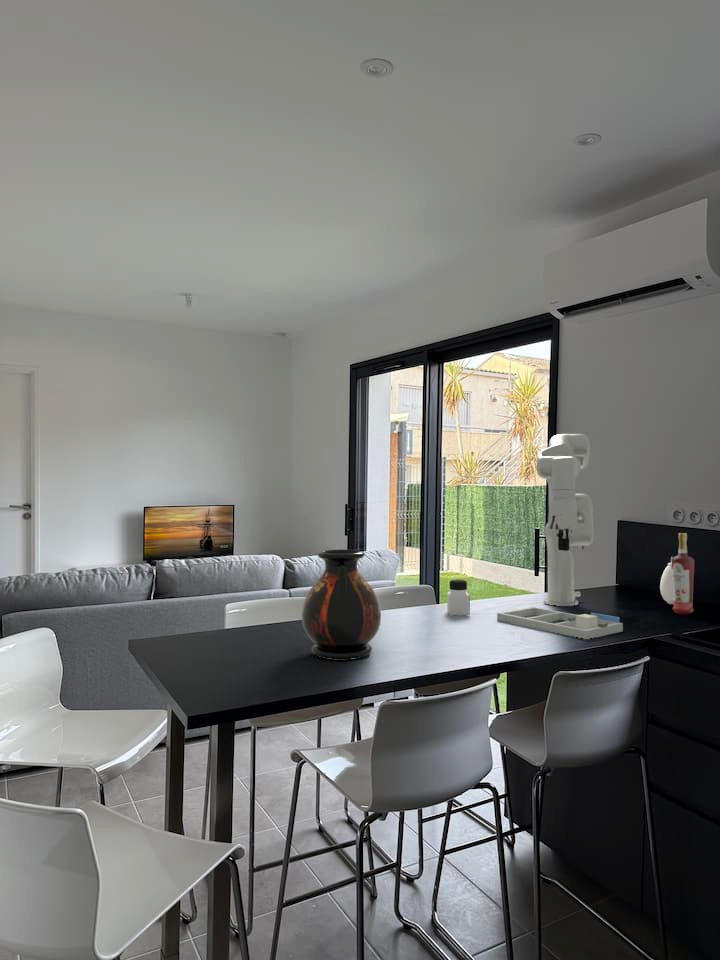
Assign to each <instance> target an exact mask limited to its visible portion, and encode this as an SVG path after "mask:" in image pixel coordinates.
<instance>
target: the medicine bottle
mask: <svg viewBox="0 0 720 960" xmlns="http://www.w3.org/2000/svg"><path fill="white" fill-rule="evenodd" d="M470 601H471V596H470V594H469V593H468V582H467V580H465V579H461V578H458V579H457V578H453V579H451V580H449V591H447V593H446V604H447V605H446V610H447V614H448V613H449V614H448V615H449V616H450V615H469V616H470V615H471V612H470V611H471V607H470V606H471V605H470V604H471V602H470Z"/></svg>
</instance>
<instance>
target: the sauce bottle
mask: <svg viewBox="0 0 720 960" xmlns="http://www.w3.org/2000/svg"><path fill="white" fill-rule="evenodd" d="M672 558H673V555H672V556H671V558H670V562H668V563H667V566H666V567H665V569H664V570H663V573H662V575H661V577H660V584H659V589H660V595H661V597H662V599H663V601H666V603H667V604H669V605H674V599H673V579H672V561H671V559H672Z"/></svg>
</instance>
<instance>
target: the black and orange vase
mask: <svg viewBox="0 0 720 960" xmlns="http://www.w3.org/2000/svg"><path fill="white" fill-rule="evenodd" d="M365 555H366V553H365V552H364V551H362V550H358V549H328V550H321V551H319V552H318V553H317V557H318V558H319V559H322V560H323V561H324V566H325V568H324V571H323V573H322V575H321V576H320V577H319V578H318V580H317V581H316V582H315V583H314V584H313V586H312V587H311V588H310V589H309V591H308V592H307V595H306V597H305V600H304V603H303V605H302V613H301V623H302V626H303V630H304V631H305V633H306V634H307V636H308V638H309V639H310V641H312V643H314V644H313V645H312V647H311V653H312V654H313V655H314V654H315V655H318V656H321V657H325V658H332V659H351V658H359V657H363V658H365V657H364V656H366V657H367V656H369V655H370V654H371V653H372V649H373V648H372V645H371V644H370V642H371V641H372V640H373V639H374V638H375V636H376V635H377V633H378V631H379V629H380V626H381V621H382V619H381V618H382V616H381V615H382V612H381V607H380V606H381V605H380V602H379V600H378V597H377V594H376V592H375V591H374V589H373V587H372V586H371V585H370V584H369V583H368V582H367V581H366V579H365V578H364V576H362V575H361V573H360V572H359V570H358V563H359V560H360V559H362V558H364V557H365ZM315 655H314V656H315Z"/></svg>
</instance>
